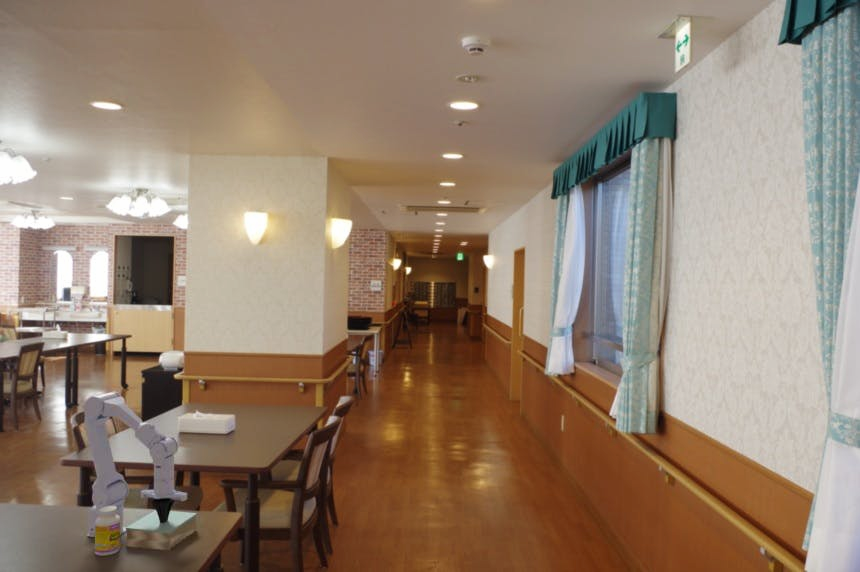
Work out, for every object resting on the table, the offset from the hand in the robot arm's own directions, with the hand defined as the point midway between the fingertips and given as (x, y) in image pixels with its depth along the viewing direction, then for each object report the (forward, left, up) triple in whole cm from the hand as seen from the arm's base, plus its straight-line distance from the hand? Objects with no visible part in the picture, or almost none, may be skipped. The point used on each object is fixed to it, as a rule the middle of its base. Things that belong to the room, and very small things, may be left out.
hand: (163, 521), depth 197 cm
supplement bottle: (-11, -11, -6) cm, 17 cm away
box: (-1, +1, -6) cm, 6 cm away
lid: (-1, +1, 0) cm, 2 cm away
